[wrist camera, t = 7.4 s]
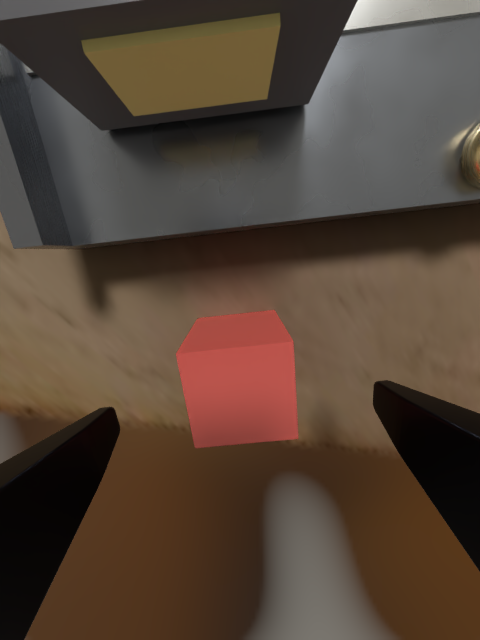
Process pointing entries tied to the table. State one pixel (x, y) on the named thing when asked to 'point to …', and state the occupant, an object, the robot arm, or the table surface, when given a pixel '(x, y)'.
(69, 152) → the breaker panel
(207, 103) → the block
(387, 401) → the robot arm
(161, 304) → the table surface
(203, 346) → the cap
